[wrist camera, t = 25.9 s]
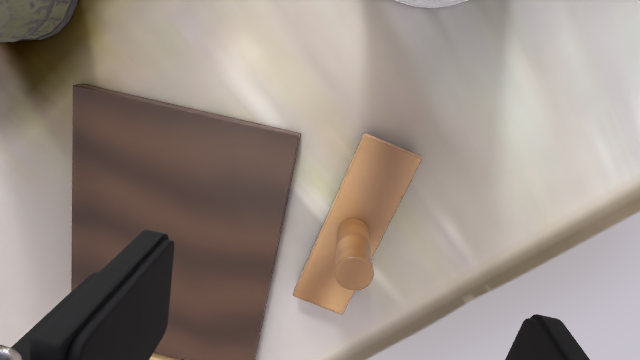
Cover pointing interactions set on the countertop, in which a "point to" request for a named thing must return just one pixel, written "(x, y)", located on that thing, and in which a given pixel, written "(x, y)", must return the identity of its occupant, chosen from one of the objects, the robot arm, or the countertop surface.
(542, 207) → the countertop surface
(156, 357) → the crumb
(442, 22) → the countertop surface
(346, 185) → the wooden knob plate
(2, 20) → the olive green flask
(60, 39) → the countertop surface
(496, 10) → the countertop surface
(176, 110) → the tray
